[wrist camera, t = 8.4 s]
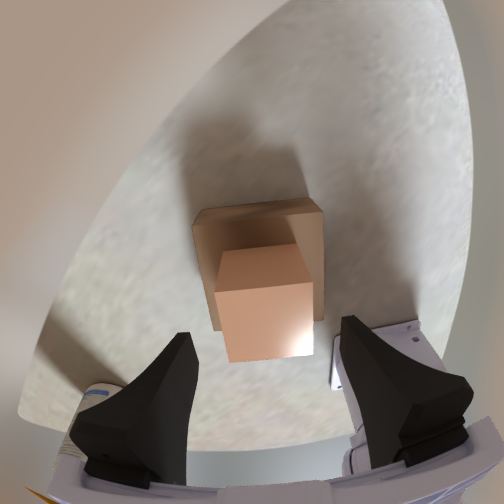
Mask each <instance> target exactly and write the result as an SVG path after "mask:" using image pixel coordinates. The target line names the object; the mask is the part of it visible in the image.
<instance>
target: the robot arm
mask: <svg viewBox="0 0 504 504" xmlns="http://www.w3.org/2000/svg"><path fill="white" fill-rule="evenodd" d="M408 326H409V327H408ZM420 326H421V322H420V321H419V320H414V321H410V322H405V323H401V324H396V325H392V326H387V327H382V328H377V329H372V330H370V329H369V328H368V327H367V326H366V325H365V324H363V323H362V322H361V321H360V320H359V319H358V318H357V317H355V316H354V315H352V316H346V317H342V322H341V334H340V335H339V336H337V337H336V338H335V340H334V352H333V363H332V374H331V384H330V388H331V390H339V389H343V392H344V395H345V398H346V402H347V405H348V408H349V412H350V415H351V418H352V422H353V425H354V429H355V432H356V434H355V435H354V436H352V437H350V441H351V445H352V448H351V449H349V450H348V451H347V452H346V453H345V455H344V459H343V463H342V475H343V477H339V478H334V479H329V480H323V481H320V480H312V481H302V482H293V483H284V484H272V485H254V486H232V487H226V488H207V487H191V486H186V452H187V435H188V424H189V418H190V413H191V408H192V404H193V399H194V395H195V390H196V386H197V381H198V371H199V361H198V358H197V354H196V351H195V348H194V345H193V341H192V338H191V334H190V332H181V333H177V334H176V335H175V337H174V338H173V339H172V340H171V341H170V342H169V344H168V345H167V346H166V347H165V348H164V350H163V351H162V352H161V353H160V354H159V355H158V357H157V358H156V359H155V360H154V361H153V362H152V363H151V364H150V365H149V366H148V367H147V368H146V369H145V370H144V371H143V372H142V373H141V374H140V375H139V376H138V377H137V378H136V379H135V380H133V381H132V382H131V383H130V384H128V385H127V386H126V387H124V388H123V389H122V390H120V391H119V392H117V393H116V394H114V395H113V396H111V397H109V398H108V399H106V400H104V401H102V402H101V403H99V404H97V405H95V406H92V407H90V408H88V409H86V410H83V411H81V412H79V413H78V414H77V417H76V419H75V421H74V423H73V425H72V427H71V429H70V432H69V436H70V439H71V440H72V442H73V443H74V444H75V445H76V446H77V447H78V448H79V449H80V450H81V451H82V452H83V453H84V454H85V455H86V456H87V457H88V459H87V462H84V461H82V460H80V459H78V458H74V457H71V456H68V455H65V454H61V457H60V459H59V462H58V464H57V467H56V469H55V472H54V474H53V477H52V479H51V482H50V485H49V487H48V490H47V494H48V495H50V496H51V497H53V498H54V499H56V500H57V501H59V502H61V503H62V504H464V502H463V500H462V498H461V496H462V494H463V492H464V491H465V489H466V488H467V487H469V486H471V485H472V484H474V483H476V482H477V481H479V480H481V479H482V478H484V477H485V476H486V475H487V474H488V473H489V472H491V471H492V470H493V469H494V468H495V467H496V466H497V465H498V464H499V463H500V462H502V461H503V460H504V441H503V440H502V438H501V436H500V434H499V432H498V430H497V429H496V427H495V425H494V423H493V422H492V420H491V418H490V417H489V416H486V417H484V418H483V419H481V420H479V421H477V422H475V423H473V424H472V425H470V426H469V427H468V428H466V427H465V426H464V423H465V419H464V417H463V414H464V412H465V411H466V409H467V408H468V406H469V405H470V403H471V401H472V399H473V394H474V392H473V390H472V388H471V387H470V385H469V383H468V382H467V381H466V379H465V378H464V377H462V376H458V375H453V374H450V373H447V370H446V368H445V366H444V364H443V362H442V360H441V359H440V357H439V356H438V354H437V353H436V352H435V350H434V349H433V347H432V346H431V344H430V343H429V342H428V340H427V339H426V337H425V336H424V335H423V333H422V332H421V330H420Z"/></svg>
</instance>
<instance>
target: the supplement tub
mask: <svg viewBox="0 0 504 504" xmlns="http://www.w3.org/2000/svg"><path fill="white" fill-rule="evenodd" d="M122 389H123V388H122V387H119V386H116V385H112V384H105V383H98V384H94V385H91V386H90V387H89V388H88V389H87V390H86V392H85V394H84V396H83V398H82V400H81V402H80V404H79V406H78V408H77V411H76V413H75V415H74V417H73V419H72V422H71V424H70V426H69V428H68V431H67V433H66V435H65V438H64V440H63V442H62V445H61V447H60V450H59V452H58V455H57V458H56V460H55V463H54V466H53V472H52V475H51V478H52V477H53V474H54V472H55V469H56V467H57V464H58V462H59V459H60V457H61V454H65V455H68V456H71V457H74V458H78V459H80V460H82V461H84V462H87V459H88V457H87V456H86V455H85V454H84V453H83V452H82V451H81V450H80V449H79V448H78V447H77V446H76V445H75V444H74V443H73V442H72V440H71V439H70V436H69V432H70V429H71V427H72V425H73V423H74V421H75V419H76V417H77V414H78V413H79V412H81V411H83V410H86V409H88V408H90V407H92V406H95V405H97V404H99V403H101V402H102V401H104V400H106V399H108V398H109V397H111V396H113V395H114V394H116V393H117V392H119V391H120V390H122Z"/></svg>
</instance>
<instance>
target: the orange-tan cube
mask: <svg viewBox="0 0 504 504" xmlns="http://www.w3.org/2000/svg"><path fill="white" fill-rule="evenodd" d="M214 294H215V299H216V304H217V309H218V313H219V318H220V323H221V327H222V332H223V336H224V341H225V345H226V349H227V354H228V358H229V362H230V363H232V362H246V361H258V360H268V359H278V358H287V357H295V356H303V355H310V354H313V281H312V279H311V276H310V274H309V271H308V269H307V266H306V264H305V261H304V259H303V257H302V254H301V252H300V249H299V247H298V245H297V243H295V244H286V245H277V246H267V247H258V248H249V249H240V250H230V251H223V254H222V258H221V263H220V268H219V272H218V277H217V281H216V286H215V291H214Z"/></svg>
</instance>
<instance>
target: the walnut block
mask: <svg viewBox="0 0 504 504" xmlns="http://www.w3.org/2000/svg"><path fill="white" fill-rule="evenodd" d="M192 231H193V237H194V242H195V247H196V252H197V257H198V262H199V267H200V272H201V276H202V281H203V286H204V290H205V295H206V299H207V304H208V308H209V312H210V317H211V321H212V325H213V330H214V331H222V327H221V323H220V318H219V313H218V309H217V304H216V299H215V294H214V291H215V286H216V281H217V277H218V272H219V268H220V263H221V258H222V254H223V251H230V250H240V249H249V248H258V247H267V246H277V245H286V244H295V243H297V245H298V247H299V249H300V252H301V254H302V257H303V259H304V261H305V264H306V266H307V269H308V271H309V274H310V276H311V279H312V281H313V321H319V320H324V227H323V211H322V210H321V209H320V208H319V207H318V206H317V205H316V204H315V203H314V202H313V201H312V200H311V198H303V199H292V200H282V201H272V202H263V203H253V204H245V205H236V206H228V207H220V208H212V209H204V210H201V212H200V213H199V215H198V217H197V218H196V220H195V221H194V223H193V225H192Z"/></svg>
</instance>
